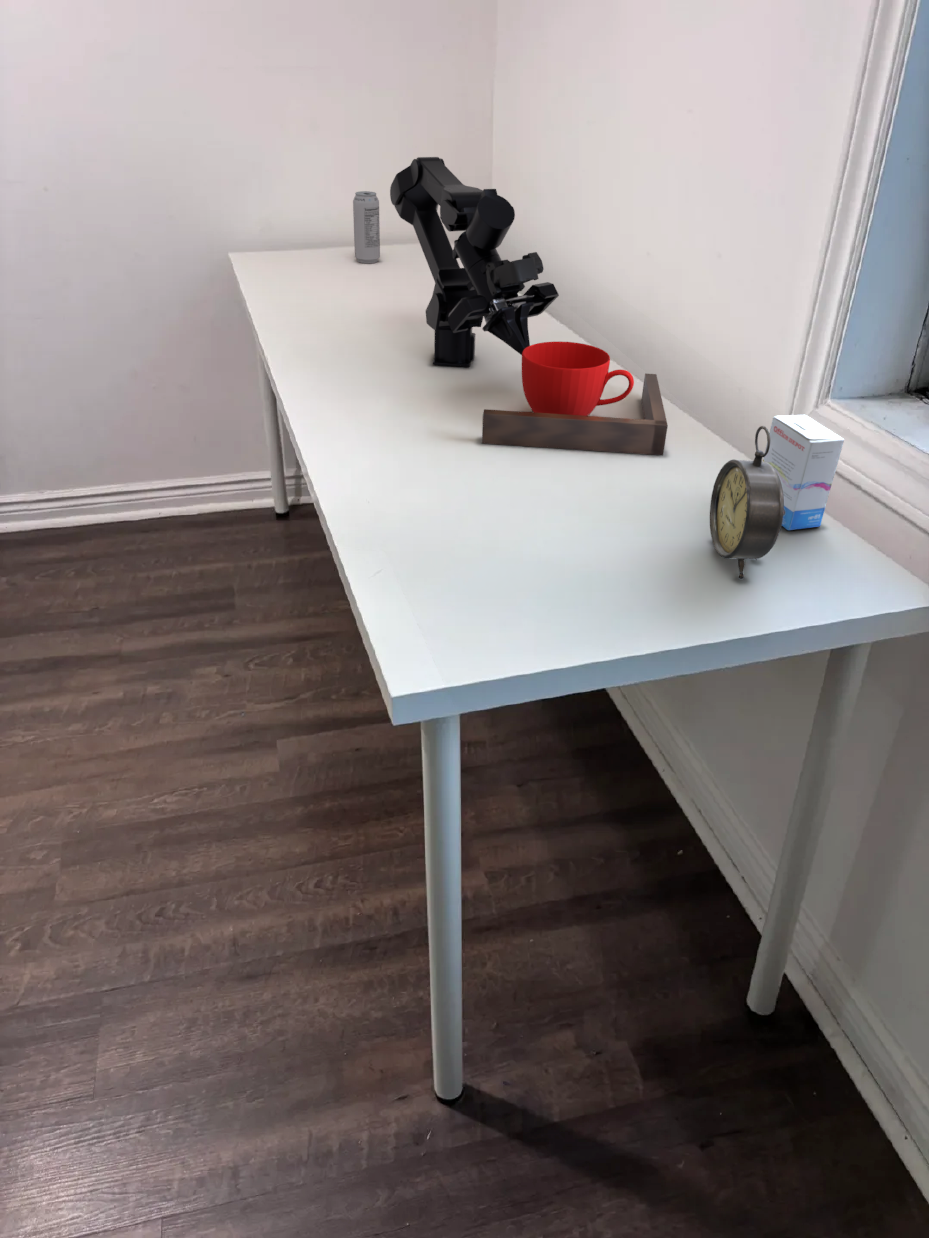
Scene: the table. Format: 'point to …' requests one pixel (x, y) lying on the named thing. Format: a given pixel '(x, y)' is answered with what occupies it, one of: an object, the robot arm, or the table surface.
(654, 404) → the corner guide
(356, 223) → the energy drink can
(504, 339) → the robot arm
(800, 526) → the ink box
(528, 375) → the ceramic cup
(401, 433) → the table surface
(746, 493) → the alarm clock
